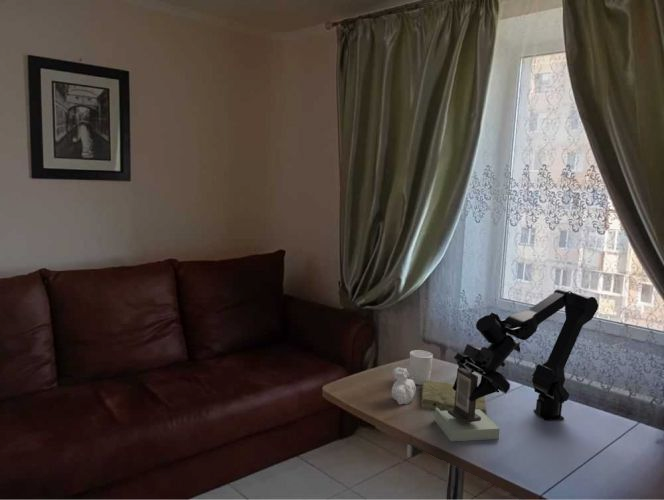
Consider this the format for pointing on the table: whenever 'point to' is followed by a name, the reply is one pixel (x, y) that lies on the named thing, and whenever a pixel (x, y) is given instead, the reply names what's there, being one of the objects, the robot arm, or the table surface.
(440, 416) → the picture ledge
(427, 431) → the table surface
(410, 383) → the bust
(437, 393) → the decorative tile
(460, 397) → the dark photo frame
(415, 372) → the white cup
